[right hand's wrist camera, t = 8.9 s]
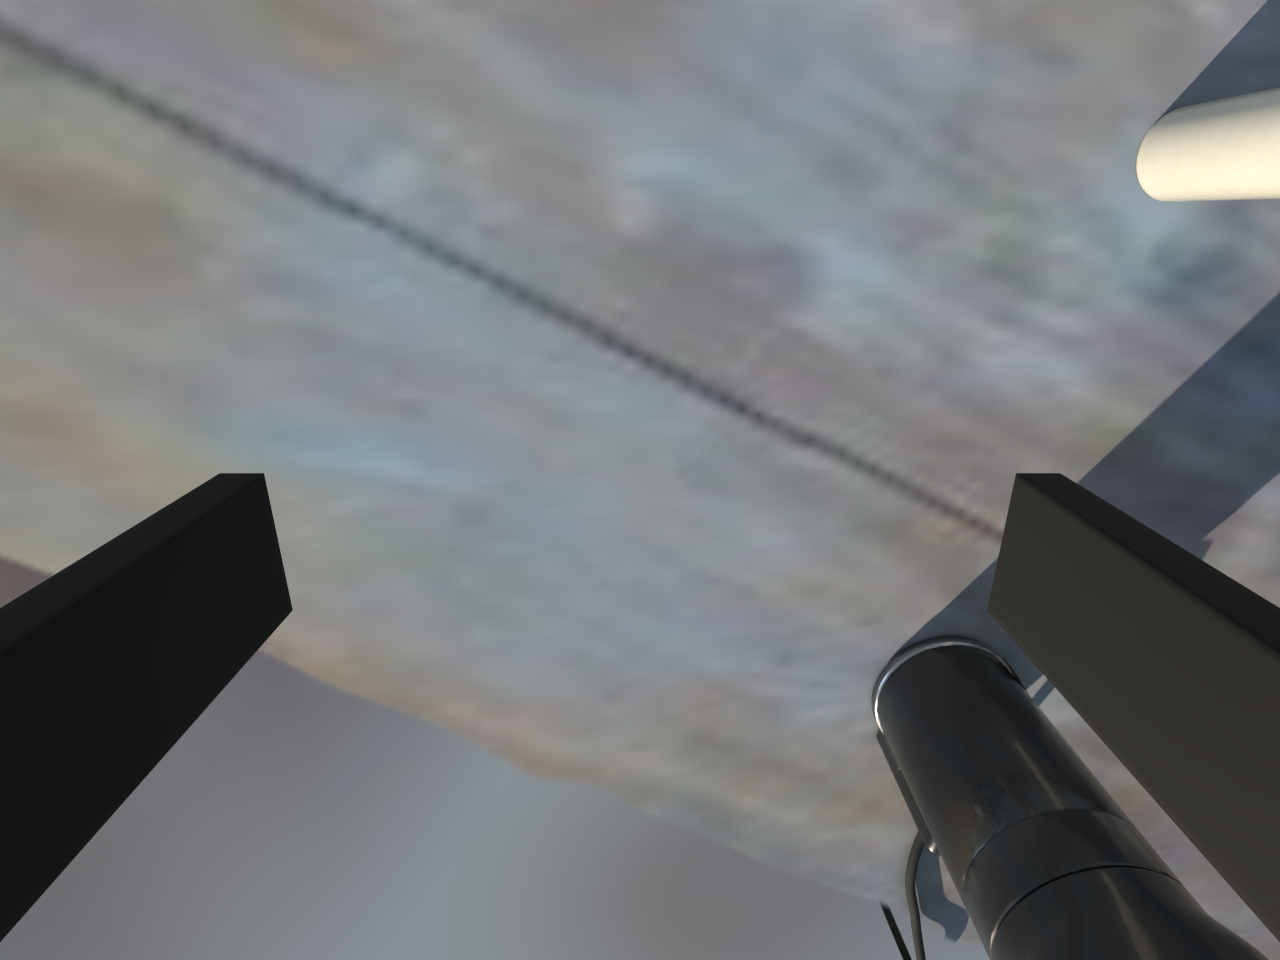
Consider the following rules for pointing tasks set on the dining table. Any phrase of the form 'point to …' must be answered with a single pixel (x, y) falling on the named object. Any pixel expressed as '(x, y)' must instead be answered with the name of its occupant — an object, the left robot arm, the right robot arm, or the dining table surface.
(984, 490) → the dining table surface
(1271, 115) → the bottle
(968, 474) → the dining table surface
